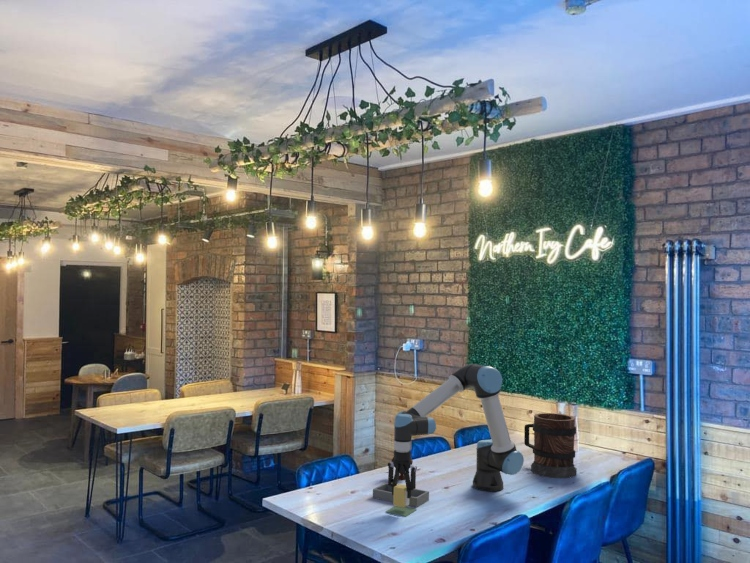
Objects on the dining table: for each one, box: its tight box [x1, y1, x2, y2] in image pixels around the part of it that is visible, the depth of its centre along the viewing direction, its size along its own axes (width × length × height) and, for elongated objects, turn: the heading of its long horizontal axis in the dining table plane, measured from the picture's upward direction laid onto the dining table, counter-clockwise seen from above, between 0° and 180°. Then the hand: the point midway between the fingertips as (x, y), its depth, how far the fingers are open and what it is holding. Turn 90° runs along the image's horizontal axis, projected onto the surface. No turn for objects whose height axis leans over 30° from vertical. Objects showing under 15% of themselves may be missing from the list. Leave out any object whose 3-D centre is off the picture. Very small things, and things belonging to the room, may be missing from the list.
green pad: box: [385, 505, 418, 518], centre depth 269 cm, size 10×10×1 cm
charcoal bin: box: [372, 482, 430, 509], centre depth 285 cm, size 23×12×4 cm, turn 59°
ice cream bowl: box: [391, 456, 414, 481], centre depth 319 cm, size 11×11×15 cm
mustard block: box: [392, 483, 407, 508], centre depth 269 cm, size 5×5×8 cm
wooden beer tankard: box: [523, 412, 578, 479], centre depth 341 cm, size 24×30×30 cm
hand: (401, 503), depth 269 cm, fingers closed on mustard block, 5 cm apart
